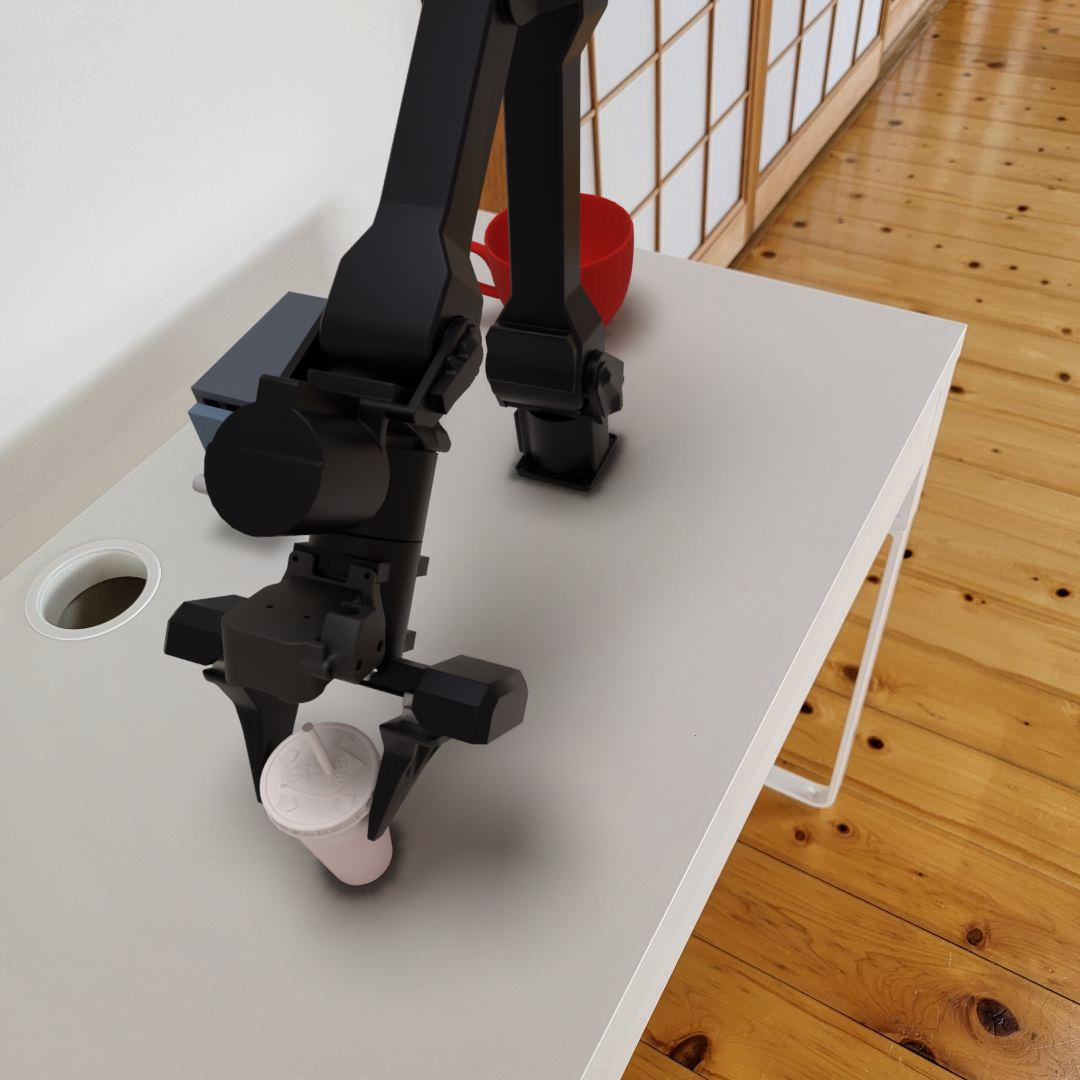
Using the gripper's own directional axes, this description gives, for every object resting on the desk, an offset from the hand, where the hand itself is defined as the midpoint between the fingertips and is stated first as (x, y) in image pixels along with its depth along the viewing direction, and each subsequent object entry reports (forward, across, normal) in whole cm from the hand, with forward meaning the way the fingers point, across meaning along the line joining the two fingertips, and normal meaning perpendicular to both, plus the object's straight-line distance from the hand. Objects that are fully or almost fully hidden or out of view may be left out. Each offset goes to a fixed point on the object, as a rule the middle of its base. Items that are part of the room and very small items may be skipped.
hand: (318, 819), depth 53 cm
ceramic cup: (-32, -8, +44) cm, 55 cm away
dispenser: (-19, -20, +30) cm, 40 cm away
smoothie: (+4, 0, +6) cm, 7 cm away
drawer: (-16, -20, +26) cm, 37 cm away
